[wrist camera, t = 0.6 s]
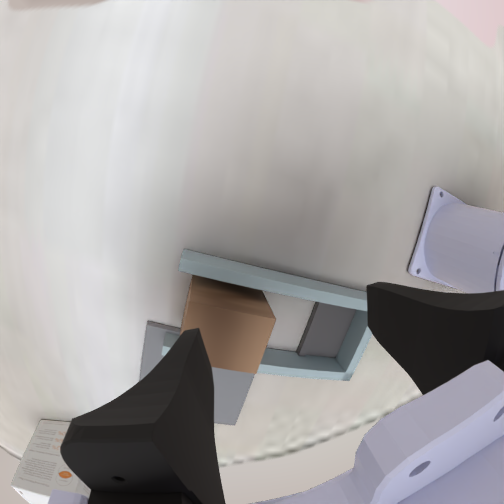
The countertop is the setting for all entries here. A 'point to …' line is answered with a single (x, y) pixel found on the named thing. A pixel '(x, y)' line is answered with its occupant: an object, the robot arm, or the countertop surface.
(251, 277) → the u-shaped bracket
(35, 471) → the small box
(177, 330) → the coaster
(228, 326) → the block
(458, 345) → the robot arm
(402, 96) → the countertop surface
